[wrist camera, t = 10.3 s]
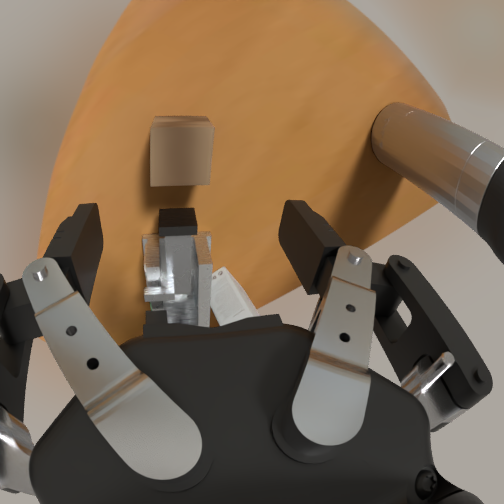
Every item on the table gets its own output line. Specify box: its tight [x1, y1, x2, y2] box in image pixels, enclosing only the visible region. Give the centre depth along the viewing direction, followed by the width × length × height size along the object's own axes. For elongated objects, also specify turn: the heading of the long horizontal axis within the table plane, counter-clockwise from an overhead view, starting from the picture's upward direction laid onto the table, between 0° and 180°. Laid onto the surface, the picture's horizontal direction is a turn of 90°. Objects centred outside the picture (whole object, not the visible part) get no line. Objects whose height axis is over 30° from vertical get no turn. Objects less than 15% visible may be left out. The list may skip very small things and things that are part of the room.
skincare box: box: [210, 267, 260, 326], centre depth 34 cm, size 6×4×12 cm
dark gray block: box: [146, 310, 168, 324], centre depth 28 cm, size 2×1×3 cm, turn 82°
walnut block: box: [150, 116, 215, 187], centre depth 23 cm, size 5×5×6 cm
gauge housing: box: [142, 232, 213, 327], centre depth 32 cm, size 8×11×6 cm
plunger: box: [144, 208, 197, 302], centre depth 28 cm, size 6×10×6 cm, turn 172°
